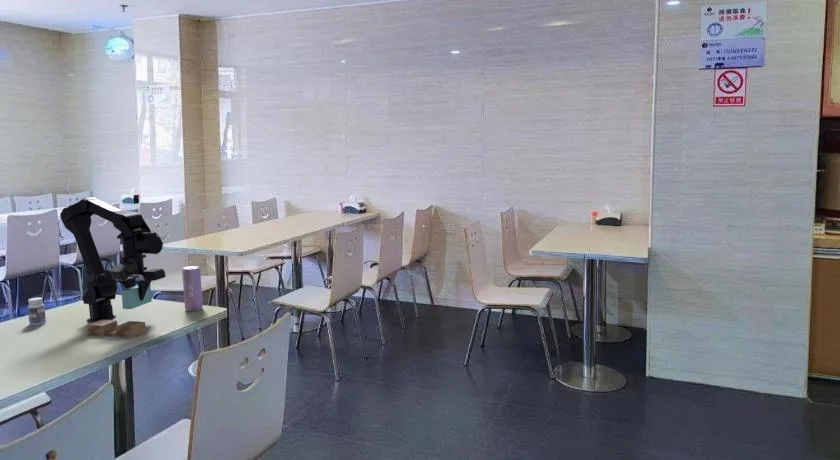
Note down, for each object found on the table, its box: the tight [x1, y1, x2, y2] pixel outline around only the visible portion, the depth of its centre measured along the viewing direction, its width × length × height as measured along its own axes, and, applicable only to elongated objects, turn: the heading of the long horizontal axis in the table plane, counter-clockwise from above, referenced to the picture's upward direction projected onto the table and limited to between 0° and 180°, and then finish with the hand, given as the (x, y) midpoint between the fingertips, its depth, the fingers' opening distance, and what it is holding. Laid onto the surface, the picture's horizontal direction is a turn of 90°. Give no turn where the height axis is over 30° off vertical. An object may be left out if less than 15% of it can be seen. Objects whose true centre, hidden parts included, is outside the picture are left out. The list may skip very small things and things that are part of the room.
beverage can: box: [181, 265, 204, 312], centre depth 222 cm, size 6×6×15 cm
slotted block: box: [86, 319, 146, 339], centre depth 196 cm, size 16×6×3 cm, turn 76°
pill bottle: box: [27, 297, 47, 326], centre depth 209 cm, size 5×5×8 cm
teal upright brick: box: [120, 284, 153, 310], centre depth 204 cm, size 3×10×6 cm, turn 166°
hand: (137, 300), depth 205 cm, fingers closed on teal upright brick, 3 cm apart
